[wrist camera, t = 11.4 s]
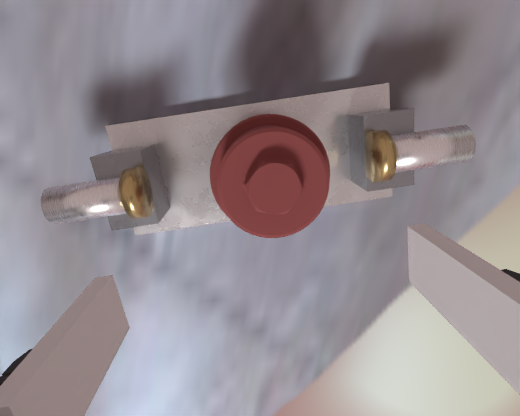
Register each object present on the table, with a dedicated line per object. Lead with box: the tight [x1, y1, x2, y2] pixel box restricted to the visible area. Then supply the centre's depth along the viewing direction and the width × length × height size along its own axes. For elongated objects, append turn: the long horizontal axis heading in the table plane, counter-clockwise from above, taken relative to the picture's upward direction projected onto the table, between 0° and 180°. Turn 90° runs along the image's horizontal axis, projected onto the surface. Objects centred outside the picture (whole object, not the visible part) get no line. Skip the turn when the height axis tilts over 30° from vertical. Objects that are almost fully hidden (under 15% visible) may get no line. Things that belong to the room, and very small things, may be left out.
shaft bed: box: [41, 83, 475, 235], centre depth 31 cm, size 36×12×10 cm, turn 98°
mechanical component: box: [210, 114, 330, 238], centre depth 29 cm, size 12×10×10 cm
